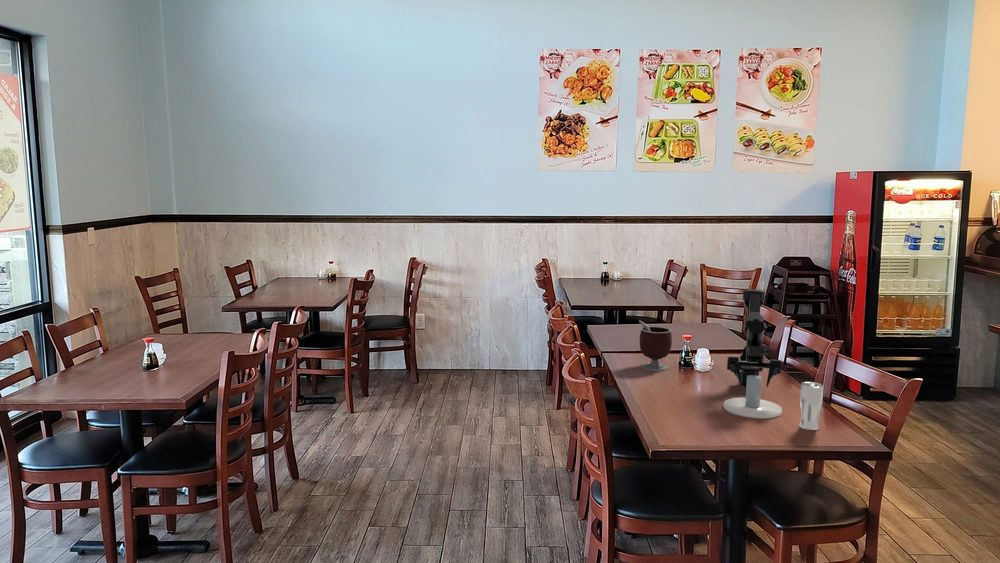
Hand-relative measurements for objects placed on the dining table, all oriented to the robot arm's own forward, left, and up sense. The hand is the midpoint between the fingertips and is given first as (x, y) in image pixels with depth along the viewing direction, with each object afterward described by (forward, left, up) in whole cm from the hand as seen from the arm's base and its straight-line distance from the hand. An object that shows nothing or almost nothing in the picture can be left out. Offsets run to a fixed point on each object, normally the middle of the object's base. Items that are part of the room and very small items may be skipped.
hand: (753, 385), depth 251 cm
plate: (0, 0, -9) cm, 9 cm away
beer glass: (-10, +20, -9) cm, 24 cm away
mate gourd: (+16, -60, -9) cm, 63 cm away
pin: (0, 0, -8) cm, 8 cm away
